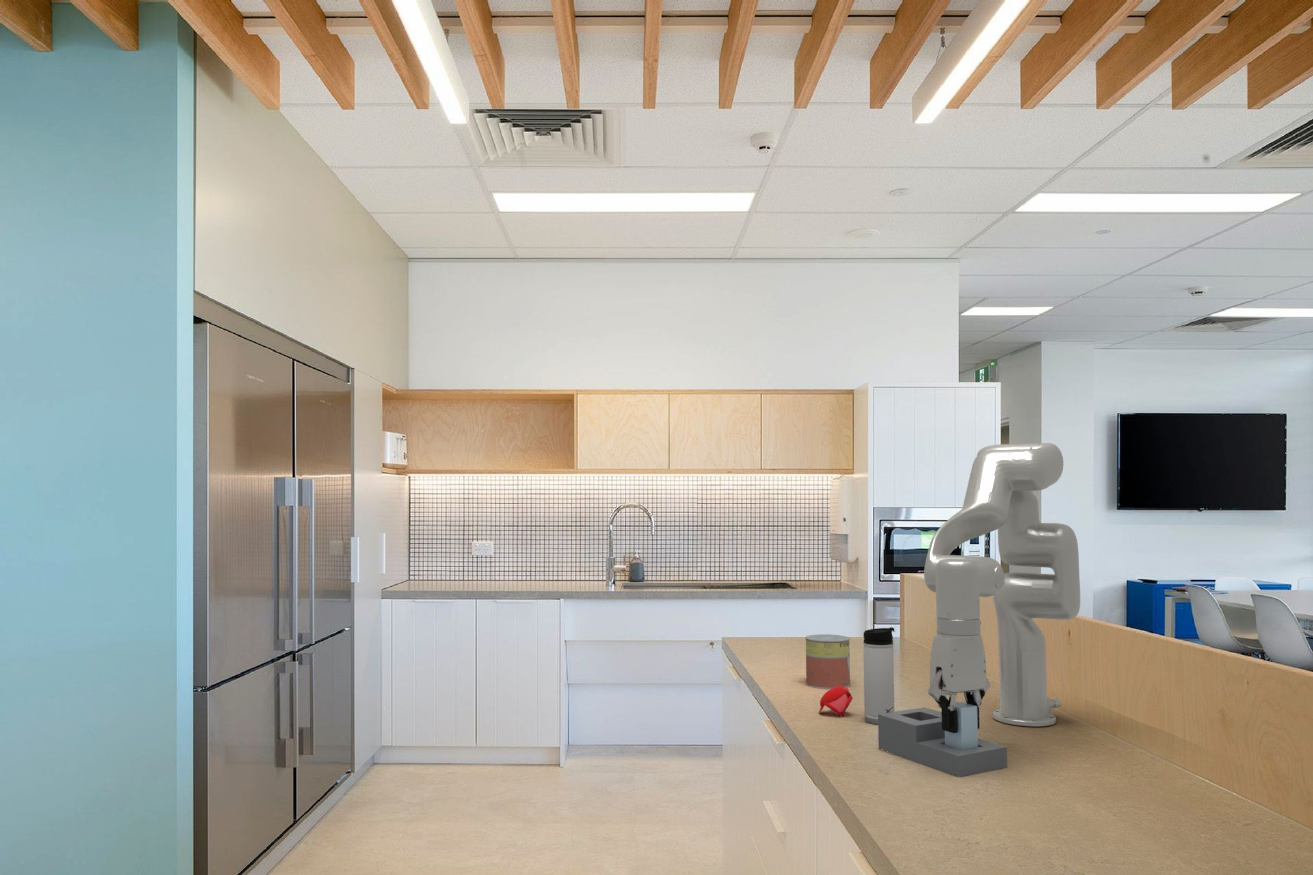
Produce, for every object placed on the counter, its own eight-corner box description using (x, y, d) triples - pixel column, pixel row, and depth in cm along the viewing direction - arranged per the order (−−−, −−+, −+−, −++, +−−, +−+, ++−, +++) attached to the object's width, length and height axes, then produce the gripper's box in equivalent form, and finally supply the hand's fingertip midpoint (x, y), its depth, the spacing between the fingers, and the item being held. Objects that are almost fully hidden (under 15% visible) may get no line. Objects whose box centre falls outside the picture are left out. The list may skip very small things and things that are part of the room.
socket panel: (924, 740, 179) (924, 707, 179) (1007, 766, 161) (1006, 729, 161) (878, 748, 173) (878, 714, 173) (958, 776, 155) (957, 738, 156)
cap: (854, 696, 204) (831, 681, 206) (857, 692, 199) (833, 677, 200) (836, 726, 202) (813, 711, 204) (839, 724, 196) (815, 707, 198)
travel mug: (897, 725, 190) (895, 629, 192) (865, 724, 192) (863, 629, 193) (895, 718, 196) (893, 625, 198) (864, 717, 198) (862, 625, 199)
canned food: (854, 689, 227) (853, 641, 228) (809, 689, 227) (809, 641, 228) (845, 680, 238) (845, 634, 239) (802, 680, 238) (802, 634, 239)
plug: (958, 756, 166) (957, 701, 167) (978, 762, 162) (977, 706, 163) (942, 759, 164) (941, 703, 165) (962, 765, 160) (961, 708, 161)
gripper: (975, 622, 172) (977, 719, 170) (908, 628, 164) (910, 730, 162) (1007, 626, 165) (1010, 728, 164) (939, 633, 157) (942, 740, 156)
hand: (960, 728), depth 163 cm, fingers open, 4 cm apart
